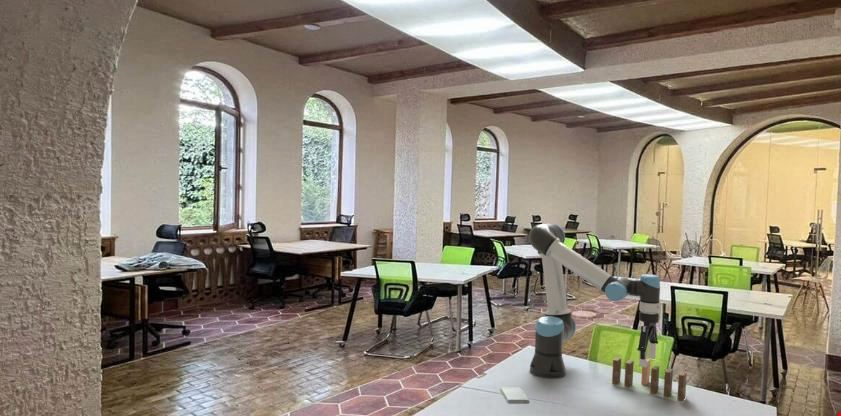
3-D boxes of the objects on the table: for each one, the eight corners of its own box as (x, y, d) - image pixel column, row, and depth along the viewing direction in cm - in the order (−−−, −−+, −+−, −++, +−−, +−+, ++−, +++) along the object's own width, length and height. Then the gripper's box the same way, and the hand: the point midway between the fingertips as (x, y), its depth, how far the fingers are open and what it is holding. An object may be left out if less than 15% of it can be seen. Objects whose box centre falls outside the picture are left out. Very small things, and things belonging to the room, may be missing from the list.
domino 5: (663, 396, 208) (664, 371, 208) (666, 392, 212) (668, 368, 211) (668, 397, 207) (669, 372, 206) (671, 394, 211) (672, 369, 210)
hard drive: (529, 399, 199) (520, 386, 211) (507, 399, 198) (500, 386, 210) (529, 404, 199) (520, 391, 211) (507, 404, 198) (500, 390, 211)
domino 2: (624, 386, 217) (625, 362, 217) (628, 383, 221) (629, 359, 221) (628, 387, 216) (630, 363, 216) (632, 384, 220) (633, 360, 220)
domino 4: (650, 393, 211) (651, 368, 211) (653, 389, 215) (654, 365, 215) (654, 394, 210) (656, 369, 209) (658, 390, 214) (659, 366, 213)
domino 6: (677, 400, 205) (678, 374, 204) (680, 396, 209) (681, 371, 208) (682, 401, 204) (683, 375, 203) (685, 397, 208) (686, 372, 207)
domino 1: (611, 383, 220) (613, 359, 220) (615, 380, 224) (617, 357, 224) (616, 384, 219) (617, 360, 219) (620, 381, 223) (621, 357, 223)
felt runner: (607, 383, 220) (607, 383, 220) (613, 378, 227) (613, 378, 227) (683, 403, 203) (683, 402, 203) (687, 397, 209) (688, 396, 209)
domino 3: (641, 384, 221) (642, 361, 220) (644, 381, 225) (645, 358, 224) (645, 386, 220) (647, 362, 219) (649, 382, 224) (650, 359, 223)
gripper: (650, 319, 209) (648, 372, 209) (666, 308, 228) (664, 357, 229) (630, 315, 213) (629, 368, 214) (647, 305, 233) (646, 353, 234)
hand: (647, 362), depth 222 cm, fingers open, 13 cm apart
